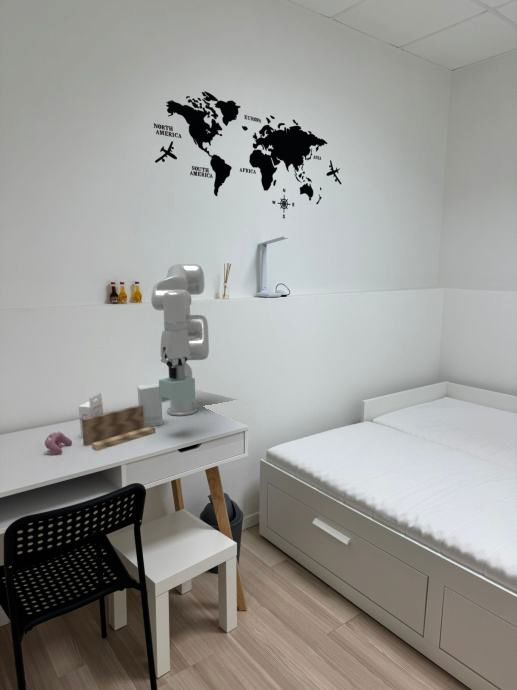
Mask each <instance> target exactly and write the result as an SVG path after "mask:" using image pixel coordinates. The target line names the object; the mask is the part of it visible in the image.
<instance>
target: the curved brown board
mask: <svg viewBox="0 0 517 690" xmlns="http://www.w3.org/2000/svg"><path fill="white" fill-rule="evenodd" d="M82 431H83V437H82V442H83V443H82V444H84V446H89V445H91V448H92V449H93V450H95V451H99V450H104V449H106V447H107V448H109V447H112V446H116V445H119V444H123V443H125V442H130V441H133V440H136V439H140V438H142V436H143V437H145V435H146V436H149V435H152V434H155V433H156V427H155V426H150V427H144V422H143V406H142V405H139V404H138V405H135V406H131V407H127V408H121V409H117V410H115V411H110V412H105V413H103V414H102V415H98V416H94V417H90V418H85V419H82ZM148 434H149V435H148ZM132 439H133V440H132ZM129 440H130V441H129Z"/></svg>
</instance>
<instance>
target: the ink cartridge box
mask: <svg viewBox="0 0 517 690" xmlns="http://www.w3.org/2000/svg"><path fill="white" fill-rule="evenodd" d="M95 399H96V400H95ZM88 400H89V401H87V402H85V403H83V404H81V405H79V406H78V413H79V414H78V415H79V426H80V427H79V428H80V437H81V438H83V431H82V419H85V418H90V417H94V416H98V415H102V414H104V409H103V399H102V394H101V392H100V393H97V394H96V395H93V396H91V397H90V398H89V399H88Z"/></svg>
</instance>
